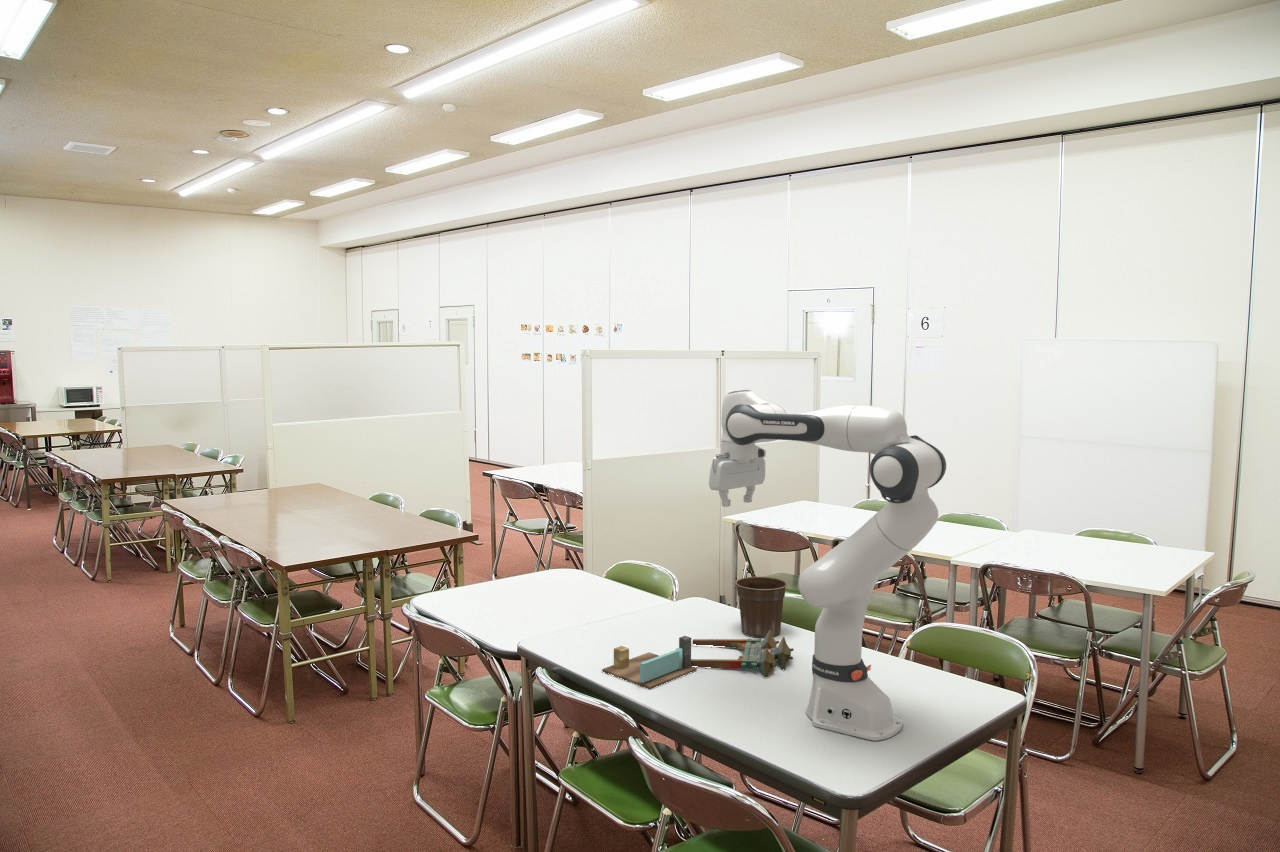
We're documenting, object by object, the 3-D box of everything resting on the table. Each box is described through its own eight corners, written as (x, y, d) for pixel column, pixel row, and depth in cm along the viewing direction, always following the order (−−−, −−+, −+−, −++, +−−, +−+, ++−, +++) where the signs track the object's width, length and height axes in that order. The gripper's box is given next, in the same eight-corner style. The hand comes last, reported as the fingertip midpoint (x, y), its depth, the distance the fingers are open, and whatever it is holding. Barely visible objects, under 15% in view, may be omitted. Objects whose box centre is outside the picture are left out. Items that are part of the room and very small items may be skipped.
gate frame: (696, 670, 231) (697, 638, 230) (649, 689, 217) (650, 655, 216) (649, 654, 243) (649, 624, 242) (602, 671, 229) (602, 639, 229)
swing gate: (683, 668, 230) (683, 649, 229) (644, 683, 218) (644, 663, 218) (678, 666, 231) (678, 647, 231) (639, 682, 220) (639, 661, 219)
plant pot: (723, 631, 265) (724, 581, 264) (756, 621, 276) (757, 573, 275) (763, 644, 253) (764, 592, 252) (796, 633, 264) (797, 583, 263)
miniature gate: (694, 629, 256) (793, 629, 250) (695, 647, 256) (794, 647, 250) (681, 659, 230) (791, 660, 224) (682, 679, 230) (792, 680, 224)
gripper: (723, 455, 209) (722, 510, 210) (769, 450, 224) (768, 501, 225) (703, 453, 213) (702, 507, 214) (750, 448, 228) (749, 498, 229)
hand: (737, 504), depth 219 cm, fingers open, 8 cm apart
